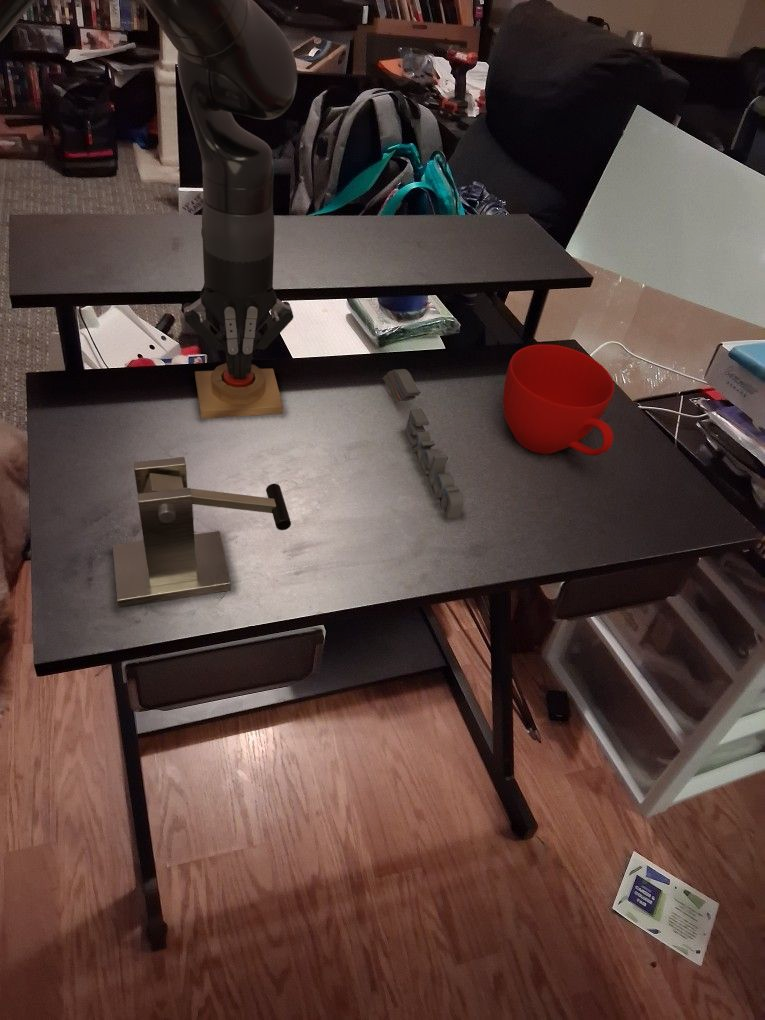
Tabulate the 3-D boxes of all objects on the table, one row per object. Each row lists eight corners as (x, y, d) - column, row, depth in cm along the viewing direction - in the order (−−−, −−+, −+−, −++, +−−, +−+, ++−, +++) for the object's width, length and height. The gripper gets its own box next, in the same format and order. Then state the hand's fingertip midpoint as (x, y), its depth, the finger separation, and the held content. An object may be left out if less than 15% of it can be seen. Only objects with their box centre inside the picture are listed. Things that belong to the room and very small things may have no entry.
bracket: (219, 538, 76) (217, 445, 67) (231, 590, 72) (229, 499, 63) (113, 552, 73) (95, 457, 64) (118, 608, 69) (99, 515, 60)
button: (225, 395, 90) (225, 384, 89) (222, 378, 93) (222, 366, 91) (254, 394, 91) (255, 382, 90) (250, 376, 94) (251, 365, 92)
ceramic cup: (546, 503, 87) (574, 439, 80) (470, 416, 97) (489, 353, 90) (626, 477, 93) (659, 415, 85) (547, 398, 102) (570, 336, 95)
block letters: (381, 386, 99) (386, 350, 95) (391, 385, 99) (398, 350, 95) (447, 519, 83) (457, 483, 79) (459, 517, 84) (470, 482, 79)
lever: (275, 497, 73) (284, 480, 72) (286, 534, 70) (295, 517, 69) (141, 481, 66) (148, 461, 65) (146, 521, 63) (154, 501, 62)
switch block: (201, 418, 89) (200, 398, 87) (195, 378, 94) (194, 359, 92) (282, 413, 92) (283, 394, 90) (272, 375, 97) (273, 356, 95)
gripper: (177, 259, 74) (186, 396, 86) (306, 259, 78) (297, 390, 90) (172, 224, 79) (181, 359, 91) (293, 226, 83) (287, 355, 95)
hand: (239, 374), depth 91 cm, fingers closed
